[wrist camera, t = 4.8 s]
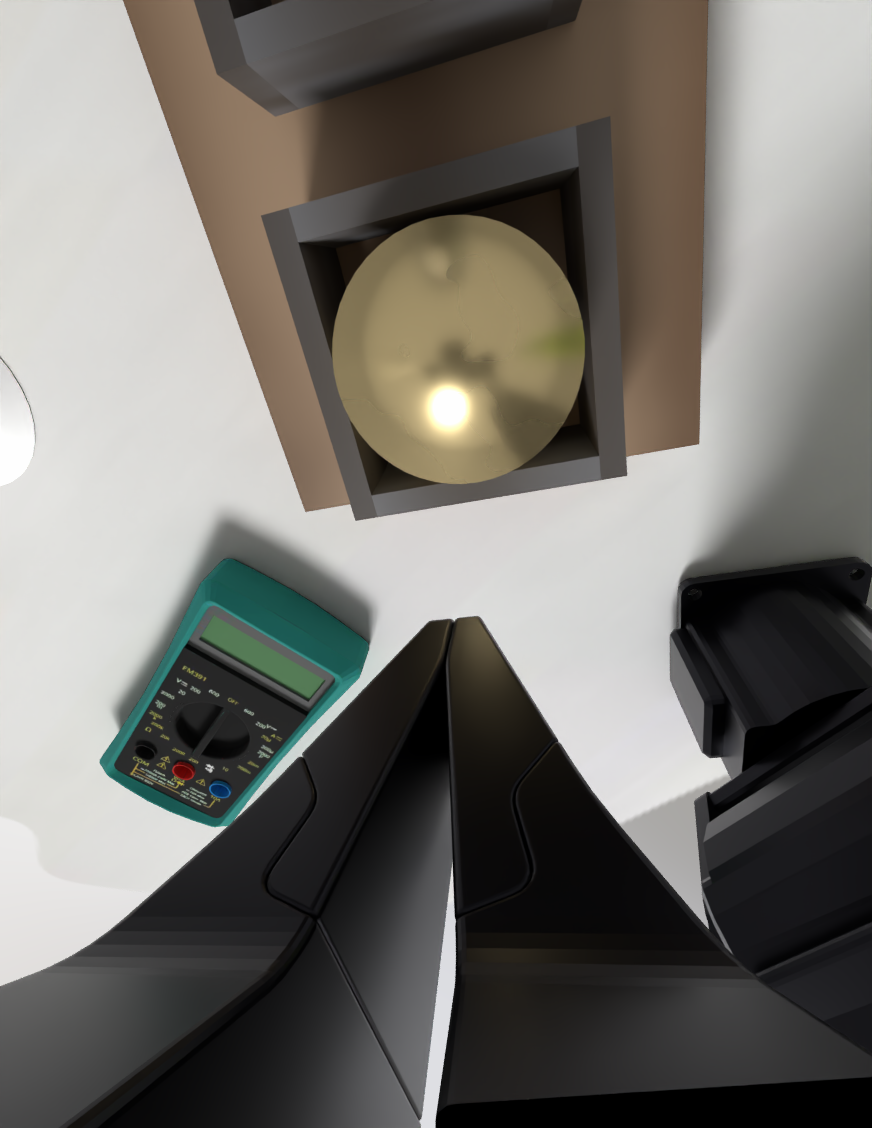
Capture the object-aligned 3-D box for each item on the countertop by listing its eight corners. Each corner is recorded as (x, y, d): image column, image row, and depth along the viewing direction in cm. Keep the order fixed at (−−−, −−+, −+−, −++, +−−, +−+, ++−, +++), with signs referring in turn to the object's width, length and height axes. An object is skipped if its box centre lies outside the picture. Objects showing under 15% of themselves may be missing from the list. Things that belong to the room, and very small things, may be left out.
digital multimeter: (120, 736, 29) (83, 782, 26) (232, 544, 22) (198, 580, 19) (241, 796, 30) (217, 845, 28) (378, 634, 24) (365, 678, 21)
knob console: (660, -495, 10) (859, -1386, 4) (667, 418, 18) (743, 480, 12) (101, -227, 12) (-205, -621, 7) (329, 479, 20) (271, 555, 14)
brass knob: (549, 206, 12) (572, 180, 9) (569, 417, 15) (593, 462, 11) (348, 258, 13) (298, 252, 10) (396, 449, 16) (369, 500, 12)
